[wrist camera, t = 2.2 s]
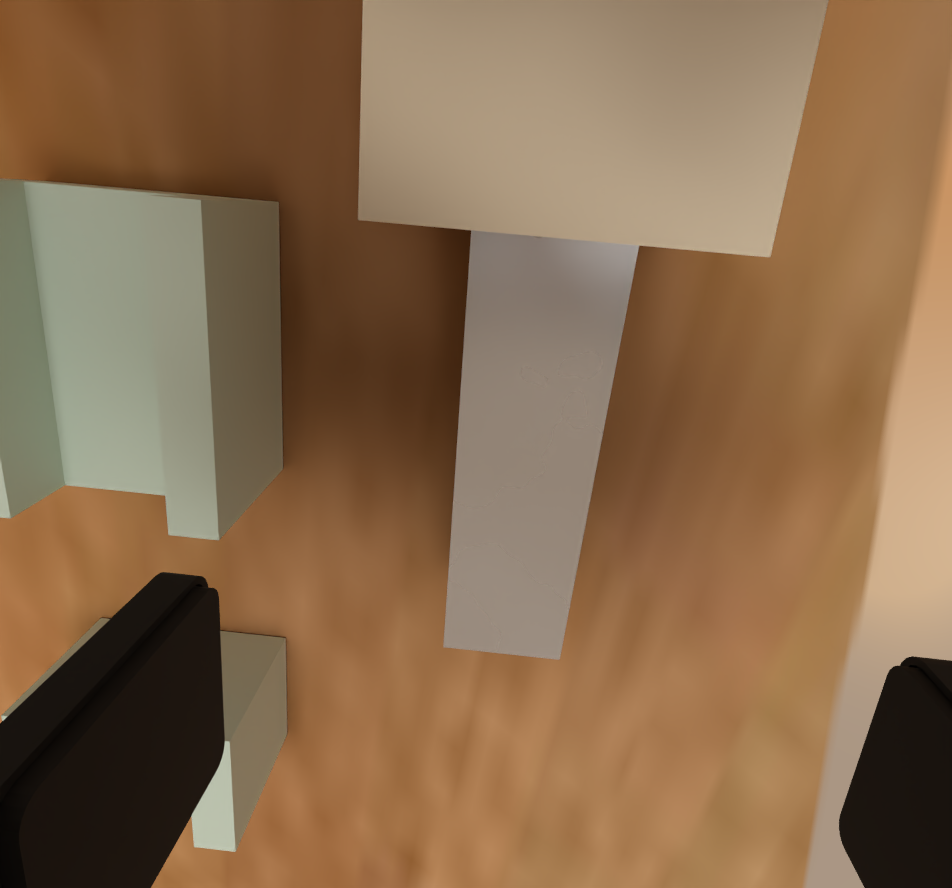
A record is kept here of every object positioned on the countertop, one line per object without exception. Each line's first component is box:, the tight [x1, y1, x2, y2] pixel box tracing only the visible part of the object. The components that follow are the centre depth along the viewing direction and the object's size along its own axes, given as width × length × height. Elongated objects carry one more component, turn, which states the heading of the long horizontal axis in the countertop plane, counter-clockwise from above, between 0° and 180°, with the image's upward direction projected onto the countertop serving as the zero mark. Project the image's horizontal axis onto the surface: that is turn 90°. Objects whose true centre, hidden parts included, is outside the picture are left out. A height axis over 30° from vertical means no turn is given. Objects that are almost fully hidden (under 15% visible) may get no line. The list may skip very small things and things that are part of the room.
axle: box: [443, 230, 639, 660], centre depth 14 cm, size 16×3×3 cm, turn 176°
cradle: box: [0, 178, 287, 852], centre depth 18 cm, size 18×6×4 cm, turn 175°
